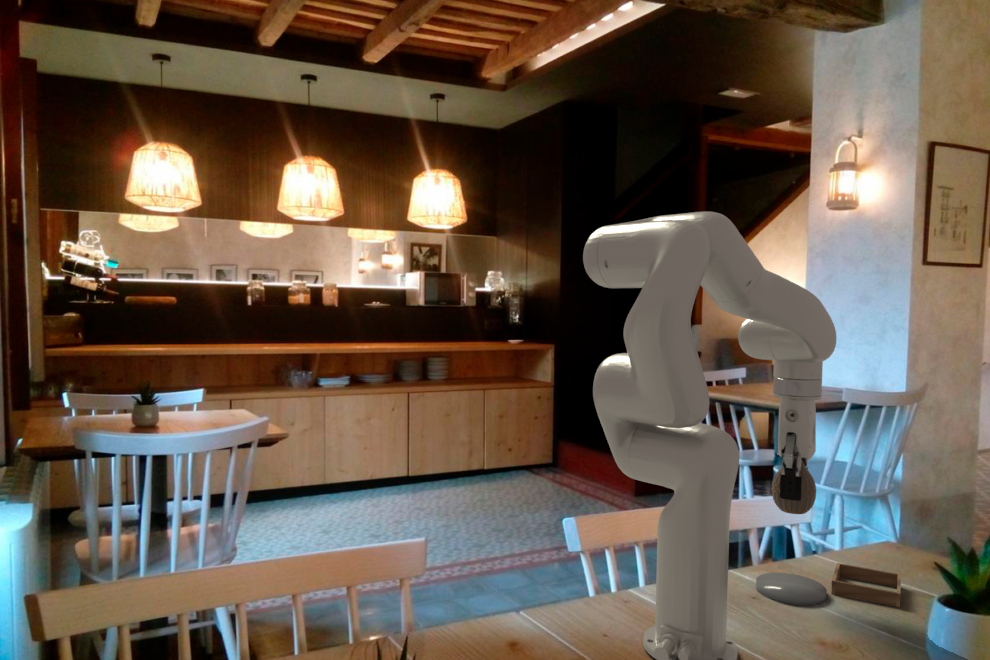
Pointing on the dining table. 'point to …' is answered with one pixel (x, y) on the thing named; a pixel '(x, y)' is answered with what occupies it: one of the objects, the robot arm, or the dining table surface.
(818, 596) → the plate
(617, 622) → the dining table surface
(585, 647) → the dining table surface
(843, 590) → the holder
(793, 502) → the vase
